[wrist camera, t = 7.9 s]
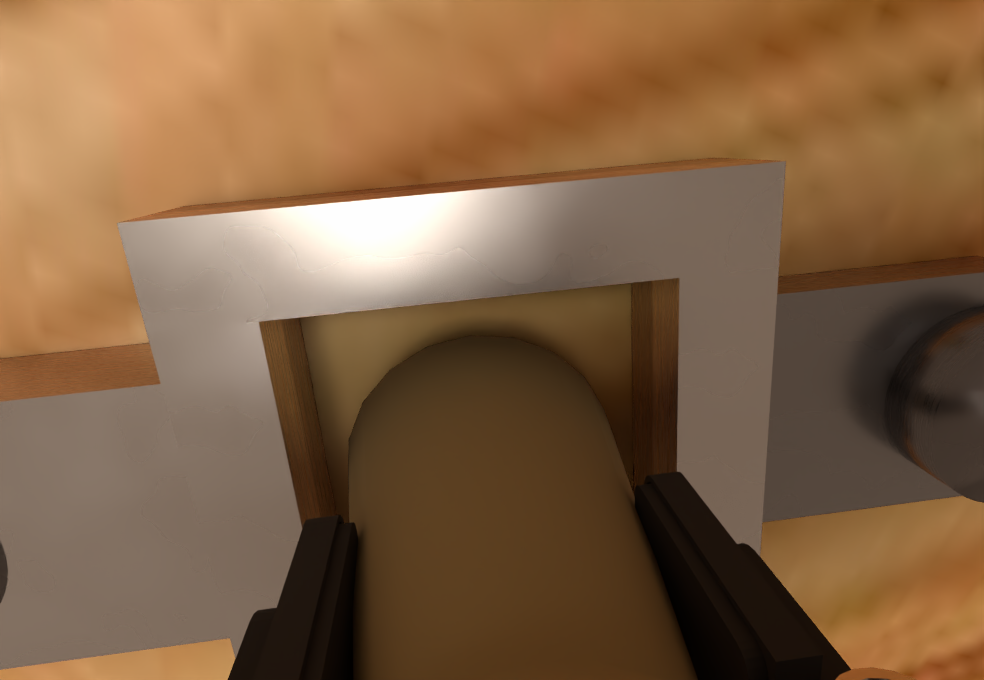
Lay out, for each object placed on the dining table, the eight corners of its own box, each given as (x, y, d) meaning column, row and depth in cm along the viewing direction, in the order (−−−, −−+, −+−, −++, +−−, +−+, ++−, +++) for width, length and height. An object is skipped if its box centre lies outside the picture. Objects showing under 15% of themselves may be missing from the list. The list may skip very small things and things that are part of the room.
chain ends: (1044, 127, 15) (1192, 123, 12) (964, 546, 18) (1062, 620, 16) (-217, 242, 13) (-401, 271, 10) (-20, 683, 17) (-114, 795, 14)
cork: (522, 607, 15) (732, 1601, 5) (298, 510, 14) (-88, 1632, 3) (661, 413, 14) (1348, 1187, 4) (432, 283, 13) (469, 952, 2)
